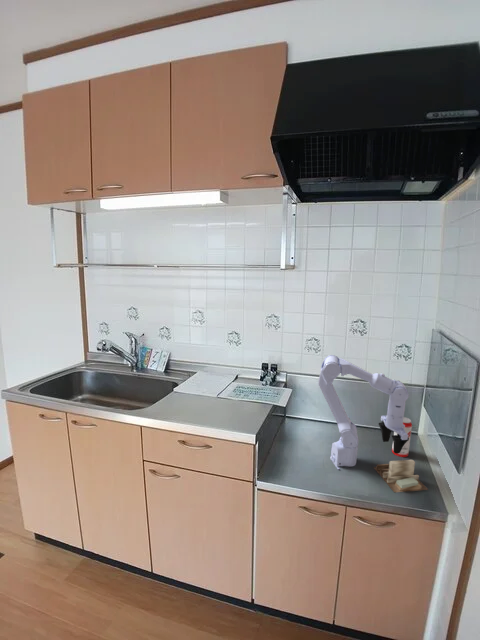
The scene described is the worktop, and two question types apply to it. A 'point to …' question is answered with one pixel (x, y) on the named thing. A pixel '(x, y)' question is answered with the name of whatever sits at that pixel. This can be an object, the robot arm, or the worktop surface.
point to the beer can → (408, 430)
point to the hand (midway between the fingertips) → (391, 446)
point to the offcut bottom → (409, 487)
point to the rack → (395, 478)
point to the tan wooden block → (401, 468)
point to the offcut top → (407, 482)
